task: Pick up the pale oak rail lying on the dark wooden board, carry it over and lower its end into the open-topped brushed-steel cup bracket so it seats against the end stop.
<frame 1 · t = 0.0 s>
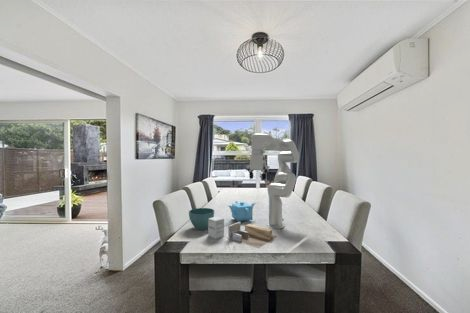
hand: (257, 179, 146), 37 cm above the table, tool pointing down, fingers open, 9 cm apart
board: (252, 239, 139), on the table
supplement box: (216, 238, 142), on the table
rail: (258, 235, 142), point 1 cm above the table, touching board
bracket: (239, 238, 138), resting on board
teakettle: (241, 220, 181), on the table
teal bowl: (201, 228, 162), on the table
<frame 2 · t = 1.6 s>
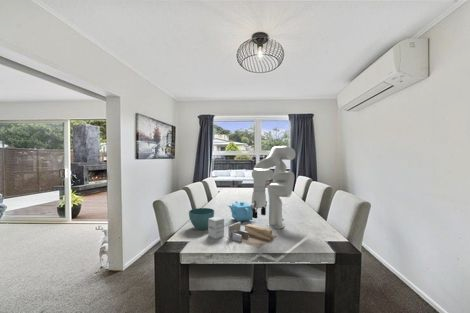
hand: (259, 216, 141), 14 cm above the table, tool pointing down, fingers open, 9 cm apart
nothing on the table moved.
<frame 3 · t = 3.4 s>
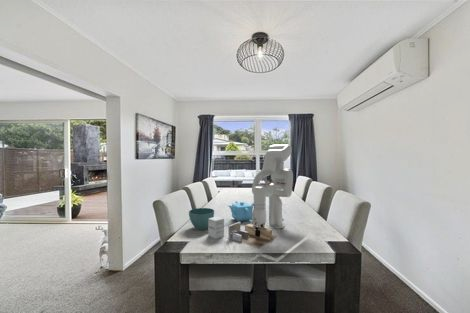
hand: (259, 234, 142), 2 cm above the table, tool pointing down, fingers closed on rail, 4 cm apart
rail: (258, 235, 142), point 2 cm above the table, touching board, gripper
everything else where it was.
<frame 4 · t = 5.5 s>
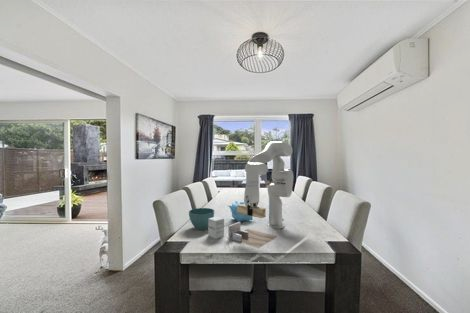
hand: (252, 214, 134), 17 cm above the table, tool pointing down, fingers closed on rail, 4 cm apart
rail: (250, 215, 135), point 16 cm above the table, touching gripper
everything else where it was.
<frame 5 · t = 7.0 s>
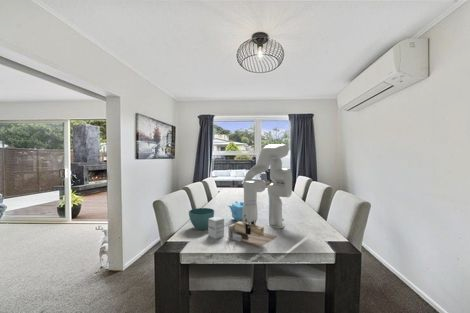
hand: (250, 232, 133), 7 cm above the table, tool pointing down, fingers closed on rail, 4 cm apart
rail: (248, 233, 133), point 6 cm above the table, touching gripper
everything else where it was.
when the fingers open (3 cm above the table, at t = 8.1 s): rail stays where it is, resting on board.
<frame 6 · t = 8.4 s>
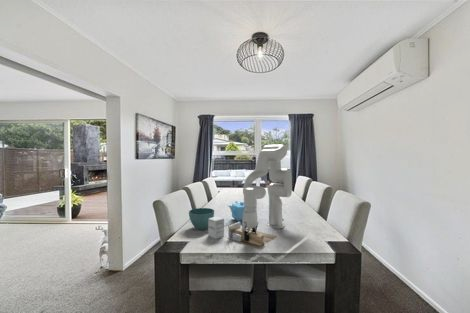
hand: (250, 238, 133), 3 cm above the table, tool pointing down, fingers open, 6 cm apart
rail: (249, 240, 133), point 1 cm above the table, touching board
everything else where it was.
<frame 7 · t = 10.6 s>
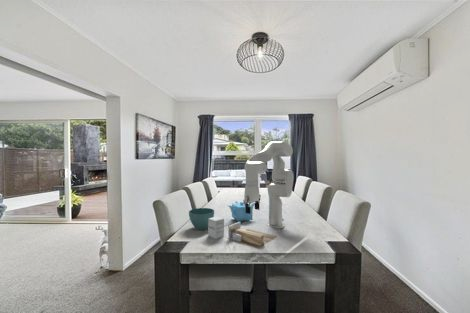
hand: (252, 211, 136), 18 cm above the table, tool pointing down, fingers open, 9 cm apart
nothing on the table moved.
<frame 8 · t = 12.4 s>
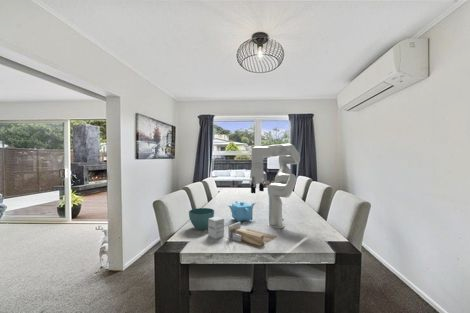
hand: (257, 192, 146), 28 cm above the table, tool pointing down, fingers open, 9 cm apart
nothing on the table moved.
at the end: rail 0.4 cm from the target spot on the table beside the bracket, resting on board; rail tilted 0°; the gripper is holding nothing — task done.
